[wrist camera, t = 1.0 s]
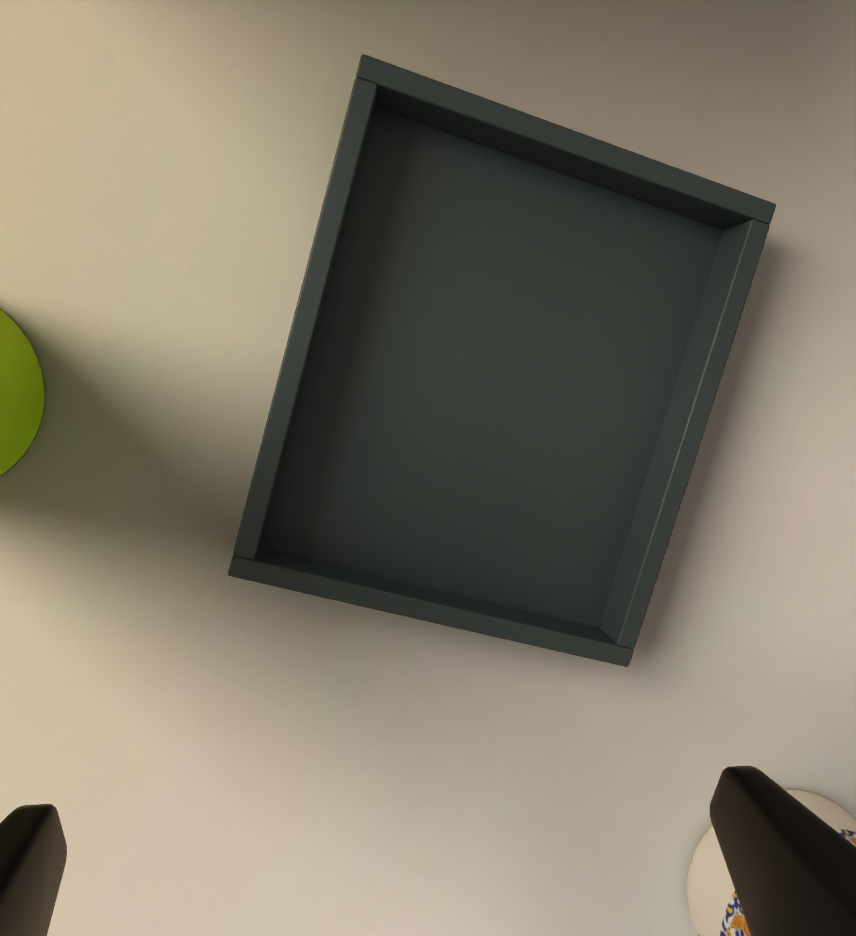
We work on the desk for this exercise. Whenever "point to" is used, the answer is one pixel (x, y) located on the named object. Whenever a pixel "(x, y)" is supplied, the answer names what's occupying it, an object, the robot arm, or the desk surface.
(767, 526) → the desk surface
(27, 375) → the soap dispenser
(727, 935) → the bath foam
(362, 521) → the tray
